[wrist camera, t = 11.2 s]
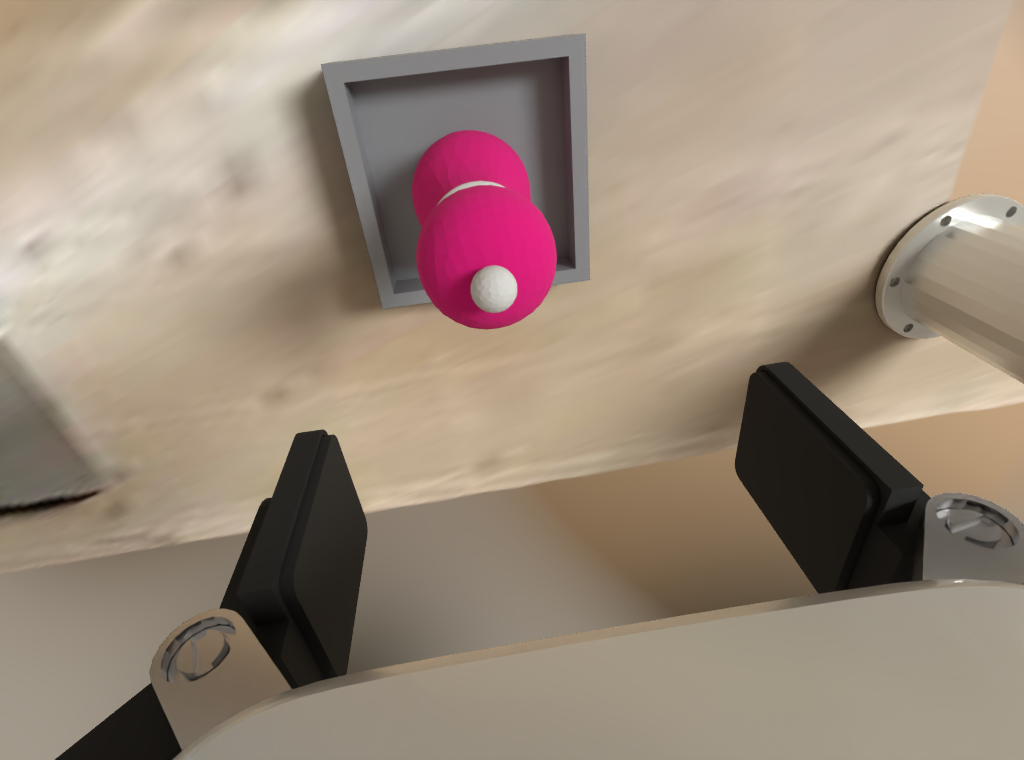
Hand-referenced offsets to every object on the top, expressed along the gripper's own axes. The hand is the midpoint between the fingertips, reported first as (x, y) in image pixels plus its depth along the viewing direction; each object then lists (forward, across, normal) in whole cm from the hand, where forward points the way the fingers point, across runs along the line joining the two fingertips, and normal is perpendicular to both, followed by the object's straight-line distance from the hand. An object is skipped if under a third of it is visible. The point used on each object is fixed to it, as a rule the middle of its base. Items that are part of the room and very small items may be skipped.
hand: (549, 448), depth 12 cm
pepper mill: (+29, +1, 0) cm, 29 cm away
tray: (+30, 0, 0) cm, 30 cm away
